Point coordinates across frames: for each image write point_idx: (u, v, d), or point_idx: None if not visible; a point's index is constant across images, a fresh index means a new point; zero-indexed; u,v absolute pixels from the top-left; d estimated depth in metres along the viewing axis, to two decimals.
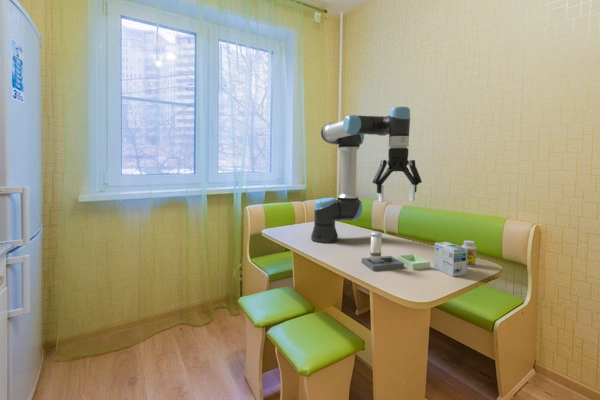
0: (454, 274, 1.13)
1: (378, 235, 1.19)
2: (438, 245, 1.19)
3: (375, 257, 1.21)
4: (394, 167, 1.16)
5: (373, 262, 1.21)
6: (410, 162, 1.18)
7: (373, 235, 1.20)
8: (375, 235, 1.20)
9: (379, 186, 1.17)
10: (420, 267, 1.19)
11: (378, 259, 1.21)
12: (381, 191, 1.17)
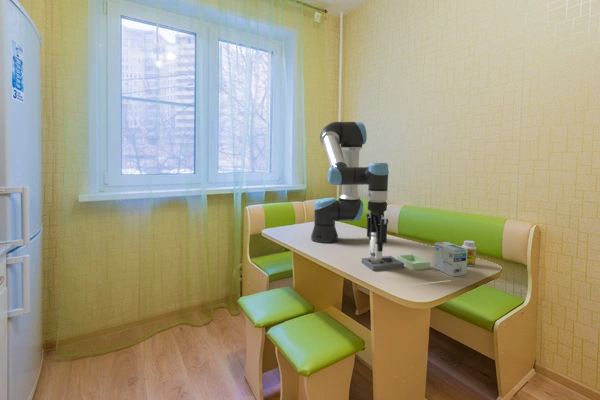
0: (454, 274, 1.13)
1: None
2: (438, 245, 1.19)
3: None
4: (371, 219, 1.22)
5: (373, 262, 1.21)
6: None
7: (373, 235, 1.20)
8: (375, 235, 1.20)
9: (370, 240, 1.25)
10: (420, 267, 1.19)
11: (378, 259, 1.21)
12: None
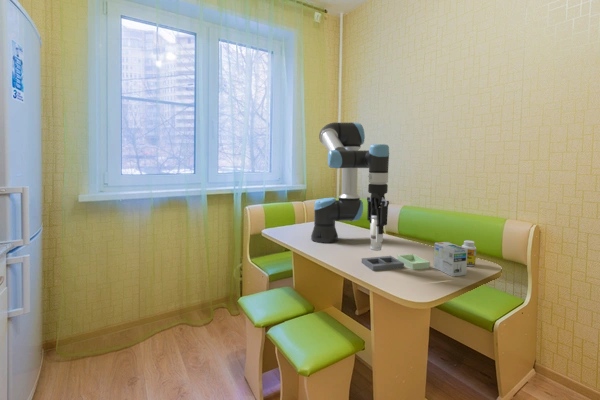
0: (454, 274, 1.13)
1: None
2: (438, 245, 1.19)
3: (375, 240, 1.20)
4: (371, 202, 1.21)
5: (373, 245, 1.20)
6: None
7: (374, 218, 1.19)
8: (376, 218, 1.19)
9: (370, 223, 1.24)
10: (420, 267, 1.19)
11: (379, 242, 1.20)
12: None
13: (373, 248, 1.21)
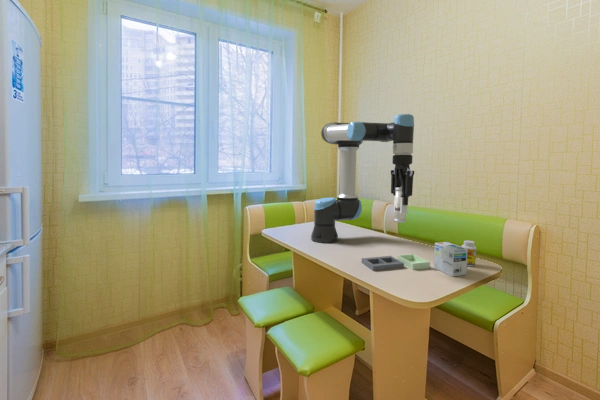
0: (454, 274, 1.13)
1: None
2: (438, 245, 1.19)
3: None
4: (395, 174, 1.20)
5: (398, 217, 1.20)
6: None
7: (398, 189, 1.18)
8: (400, 189, 1.18)
9: (394, 196, 1.24)
10: (420, 267, 1.19)
11: (403, 214, 1.19)
12: None
13: (397, 220, 1.20)
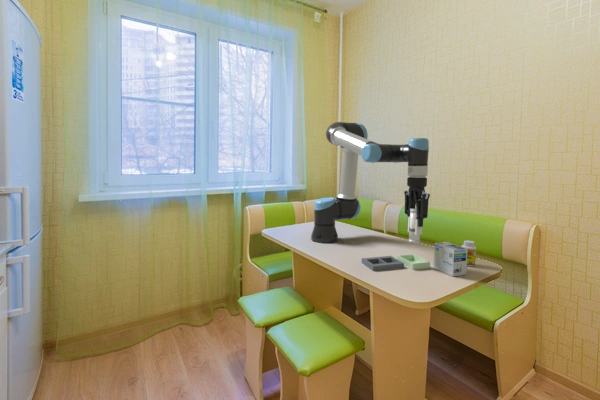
0: (454, 274, 1.13)
1: None
2: (438, 245, 1.19)
3: None
4: (410, 196, 1.22)
5: (412, 238, 1.22)
6: None
7: (413, 211, 1.20)
8: (415, 211, 1.20)
9: None
10: (420, 267, 1.19)
11: (418, 235, 1.21)
12: None
13: (412, 241, 1.22)
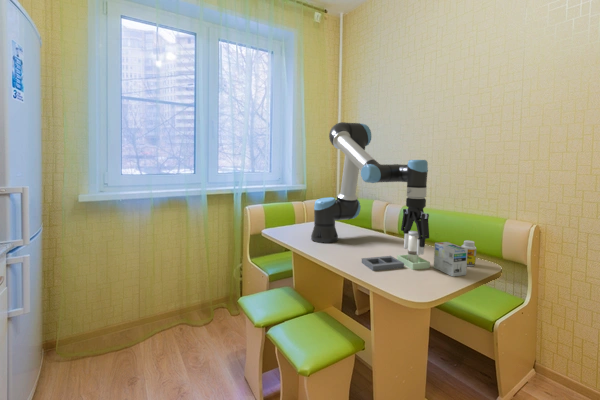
0: (454, 274, 1.13)
1: (416, 234, 1.21)
2: (438, 245, 1.19)
3: (413, 256, 1.22)
4: (408, 216, 1.24)
5: (411, 261, 1.23)
6: None
7: (411, 234, 1.22)
8: (413, 234, 1.21)
9: (404, 234, 1.29)
10: (420, 267, 1.19)
11: (416, 257, 1.23)
12: None
13: None
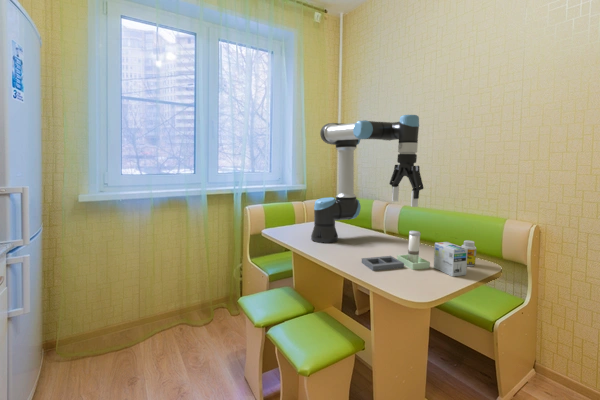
0: (454, 274, 1.13)
1: (417, 234, 1.21)
2: (438, 245, 1.19)
3: (413, 256, 1.22)
4: (399, 171, 1.26)
5: (411, 260, 1.23)
6: None
7: (412, 234, 1.22)
8: (414, 234, 1.21)
9: (392, 187, 1.32)
10: (420, 267, 1.19)
11: (417, 257, 1.23)
12: None
13: None
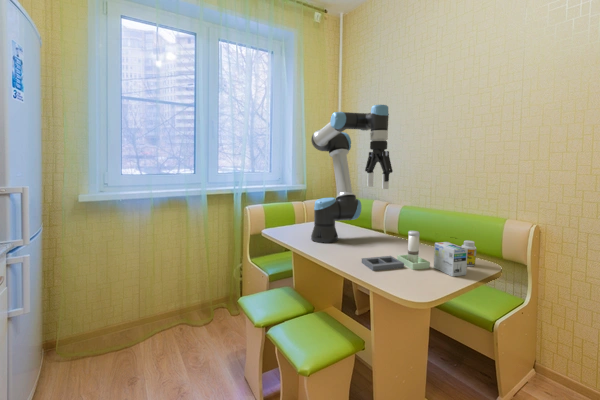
0: (454, 274, 1.13)
1: (416, 234, 1.21)
2: (438, 245, 1.19)
3: (413, 256, 1.22)
4: (372, 158, 1.36)
5: (411, 261, 1.23)
6: None
7: (411, 234, 1.22)
8: (413, 234, 1.21)
9: (368, 173, 1.42)
10: (420, 267, 1.19)
11: (416, 257, 1.23)
12: None
13: None
